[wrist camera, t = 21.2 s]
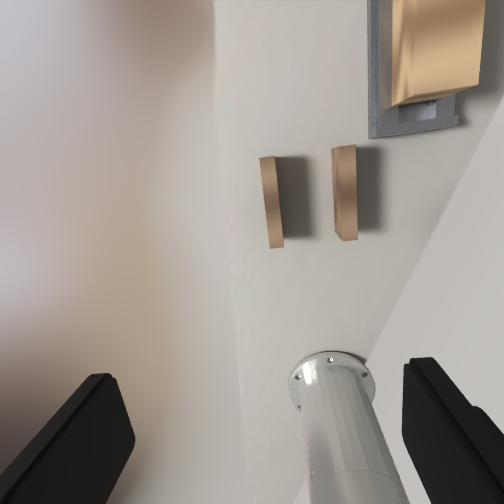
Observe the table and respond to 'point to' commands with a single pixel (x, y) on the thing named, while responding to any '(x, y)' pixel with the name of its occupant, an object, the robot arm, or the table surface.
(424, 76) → the cardboard-coloured box
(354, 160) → the wooden blocks
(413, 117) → the grey shallow tray
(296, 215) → the table surface
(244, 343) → the table surface
